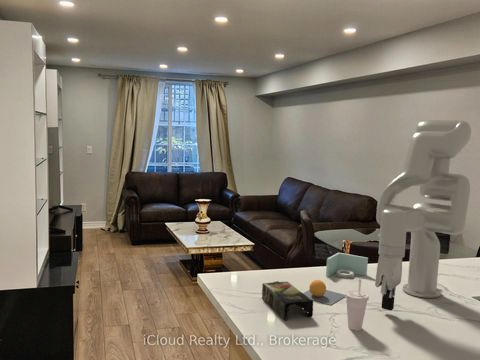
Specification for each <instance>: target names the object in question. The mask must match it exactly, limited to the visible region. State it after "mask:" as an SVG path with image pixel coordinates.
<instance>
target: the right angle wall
mask: <svg viewBox="0 0 480 360" xmlns="http://www.w3.org/2000/svg"><path fill="white" fill-rule="evenodd" d="M368 261H369V257H365V256H359V255H354V254H349V253H342V252H337V253H335V254H333V255H332V256H329V257H327V259H326V269H325V277H326V278H327V277H328V278H329V277H330V276H332V275H334V274H335V276H336V277H338V278H341V279H353V278H354V277H355V274H356V275H359V276H360V275H361V276H365V277H366V276H367V275H368V264H369V263H368Z"/></svg>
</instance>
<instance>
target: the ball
mask: <svg viewBox="0 0 480 360" xmlns="http://www.w3.org/2000/svg"><path fill="white" fill-rule="evenodd" d="M308 290H310V292H311V294H312V295H313V296H316V297H321V296H323V295H324V294H325V292H326V290H327V287H326V283H325V282H324V281H322V280H320V279H315V280H313V281H311V282H310V284H309V289H308Z"/></svg>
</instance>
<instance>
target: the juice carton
mask: <svg viewBox="0 0 480 360" xmlns="http://www.w3.org/2000/svg"><path fill="white" fill-rule="evenodd" d="M261 287H262V289H261V299H262V300H263V301H264V303H265V304H266V305H268V306H269V307H270V308H271V309H272V310H273V311H274V312H275V313H276V314H277V315H278V317H280V318H281V319H282V320H283V321H284V322H287V321H288V319H287V315H288V311H289V309H290V307H291V305H297V306H298V307H299V308H301V309H303V312H304V313H306V314H305V317H306V318H312V317H313V315H314V301H313V300H311V299H310V298H308V297H307V296H306V295H304V294H303V293H304V292H301V291H300V290H299V289H298V288H296V287H295V286H294V285H292V283H290V282H289V281H285V280H284V281H278V280H277V281H272V282H266V283H265V282H263V283H262V286H261Z"/></svg>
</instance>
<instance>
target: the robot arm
mask: <svg viewBox="0 0 480 360" xmlns="http://www.w3.org/2000/svg"><path fill="white" fill-rule="evenodd" d="M415 130H416V131H415V133H414V134H413V135H412V136H411V139H410V141H409V145H408V148H407V152H406V155H405V160H404V163H403V167H402V170H401V173H400V174H399V175H398V176H397V177H395V178H394V179H393V180H391V181H390V182H389V183H388V185H386V187H385V188H384V189H383V191H382V192H381V195H380V198H379V202H378V205H377V208H376V215H375V218H376V222H377V224H378V225H379V226H380V227H379V242H378V243H379V244H378V255H379V256H378V260H377V266H376V267H377V268H376V274H375V282H374V286H375V287H376V288H379V287H380V286H381V287H380V294H381V309H384V310H386V311H391V312H392V311H393V310H394V308H395V296H396V290H397V289H396V288H397V286H399V285H400V284H401V281H402V275H403V258H405V255H406V243H407V242H406V240H407V233H410V237H411V238H410V250H409V260H408V261H409V262H408V263H409V265H408V274H407V276H408V277H407V283H406V284H405V283H404V284H403V286H402V291H403V292H404V293H405V294H407V295H408V294H409V295H411V296H412V297H413V296H414V297H418V298H424V299H425V298H426V299H435V298H439V297H441V295H442V291H441V289H439V288H438V276H439V264H440V253H441V243H440V239H439V238H438V236H437V235H436V234H437V233H441V234H445V235H446V234H447V235H453V236H457V235H460V234H461V233H462V232H463V231H464V229H465V226H466V221H467V220H466V219H467V214H468V207H469V202H470V201H469V200H470V194H471V182H470V180H469V178H468V177H467V176H466V175H463V174H459V173H450V165H451V159H453V158H455V157H456V156H458V155H459V153H460V152H461V151H462V150H463V149H464V148H465V147H466V146H467V144H468V142H469V141H470V138H471V134H472V129H471V125H470V124H469V123H468V122H467V121H465V120H455V119H454V120H453V119H452V120H450V119H447V120H445V119H429V120H427V119H426V120H423V121H420V122H418V123H417V125H416V129H415ZM414 187H419V194H420V196H421V197H422V198H424V199H428V200H433V201H440V202H441V201H442V202H449V203H451V204H449V205H447V204H440V203H433V202H425V201H424V202H417V203H415V204H414V205H413V206H411V207H409V206H406V205H405V206H404V205H398V204H393V202H394V200H395V199H396V197H397V196H398V195H399V194H401V193H402V192H404V191H407V190H409V189H411V188H414Z"/></svg>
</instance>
